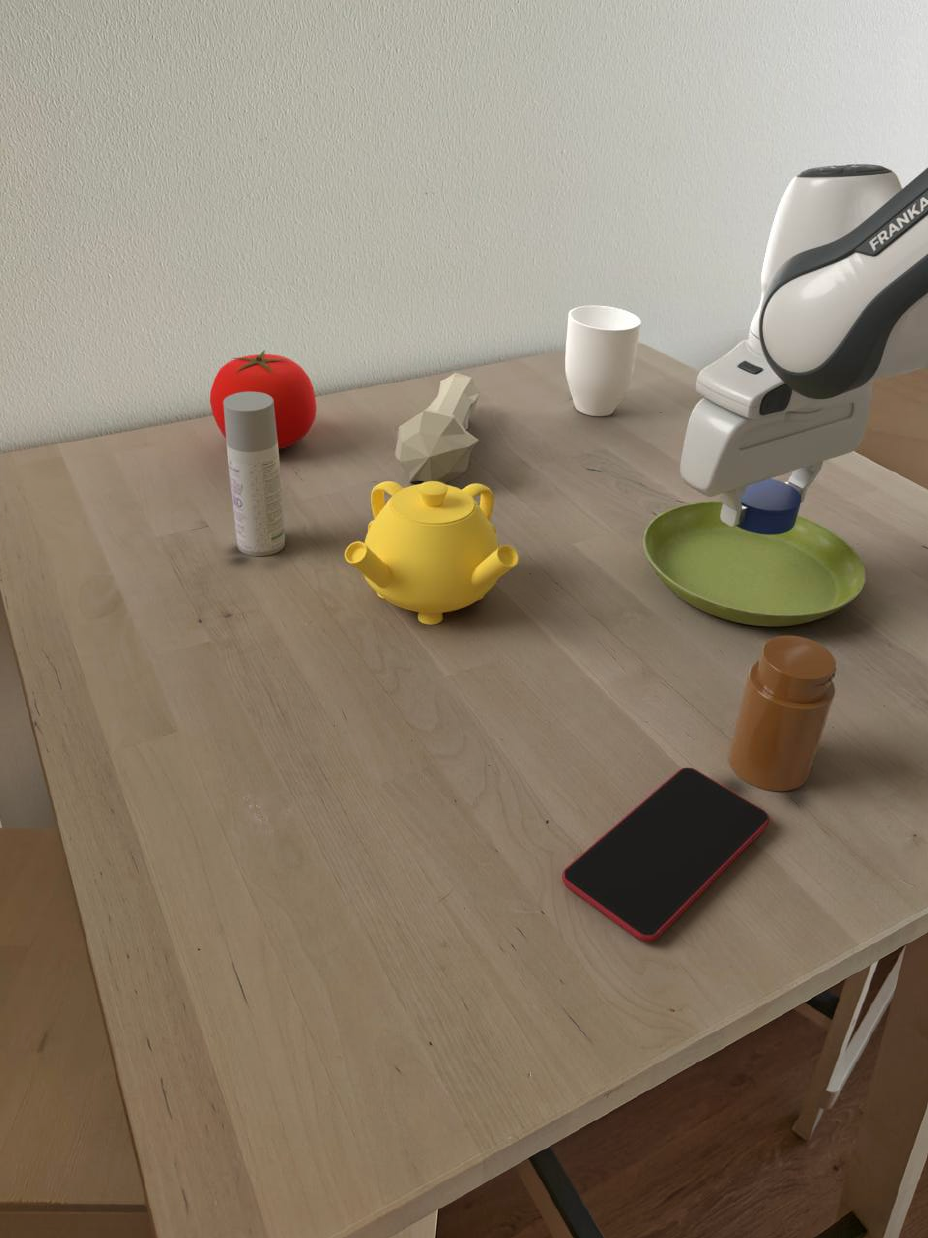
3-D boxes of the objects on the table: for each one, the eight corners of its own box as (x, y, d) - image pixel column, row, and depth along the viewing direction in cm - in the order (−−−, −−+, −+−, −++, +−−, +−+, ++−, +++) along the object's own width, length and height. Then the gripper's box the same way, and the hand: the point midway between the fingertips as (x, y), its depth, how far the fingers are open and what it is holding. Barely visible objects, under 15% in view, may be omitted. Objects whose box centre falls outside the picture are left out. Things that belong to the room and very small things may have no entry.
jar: (825, 769, 76) (861, 662, 70) (775, 803, 73) (808, 694, 67) (761, 726, 80) (790, 621, 74) (711, 757, 77) (737, 650, 71)
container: (227, 549, 98) (211, 404, 90) (255, 527, 102) (241, 387, 93) (267, 561, 97) (255, 415, 88) (294, 539, 100) (284, 397, 92)
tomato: (288, 415, 125) (283, 332, 119) (335, 451, 117) (332, 364, 111) (197, 436, 119) (187, 350, 113) (240, 475, 111) (232, 385, 105)
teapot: (346, 639, 87) (342, 526, 81) (356, 556, 98) (354, 451, 92) (512, 643, 88) (522, 531, 81) (504, 560, 99) (512, 456, 92)
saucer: (767, 673, 86) (775, 642, 84) (594, 567, 98) (598, 538, 96) (900, 593, 97) (910, 565, 95) (728, 507, 109) (734, 480, 108)
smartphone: (556, 875, 65) (686, 763, 74) (555, 884, 66) (684, 771, 75) (649, 942, 61) (775, 815, 70) (647, 952, 62) (772, 824, 71)
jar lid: (709, 511, 94) (714, 488, 93) (753, 492, 97) (758, 469, 96) (765, 542, 90) (771, 517, 89) (809, 521, 93) (816, 497, 92)
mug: (620, 427, 125) (633, 332, 119) (551, 415, 128) (560, 321, 121) (638, 393, 135) (651, 304, 128) (574, 383, 137) (583, 294, 130)
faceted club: (378, 484, 109) (420, 403, 129) (452, 512, 109) (483, 427, 130) (401, 411, 104) (441, 339, 125) (478, 440, 104) (506, 364, 125)
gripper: (847, 337, 92) (810, 473, 100) (682, 376, 83) (657, 523, 91) (905, 360, 88) (862, 500, 96) (738, 404, 78) (706, 556, 86)
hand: (761, 512), depth 93 cm, fingers closed on jar lid, 6 cm apart
